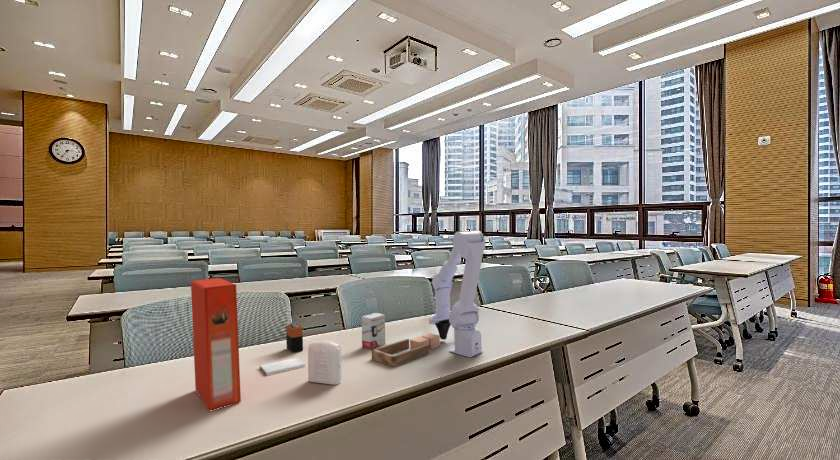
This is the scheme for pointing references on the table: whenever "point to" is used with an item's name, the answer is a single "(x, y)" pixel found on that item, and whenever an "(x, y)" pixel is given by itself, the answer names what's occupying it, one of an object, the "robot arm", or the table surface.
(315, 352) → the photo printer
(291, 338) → the battery
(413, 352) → the tray
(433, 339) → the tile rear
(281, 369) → the hard drive
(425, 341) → the tile front
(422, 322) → the table surface
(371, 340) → the ink box
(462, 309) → the robot arm
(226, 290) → the file binder
